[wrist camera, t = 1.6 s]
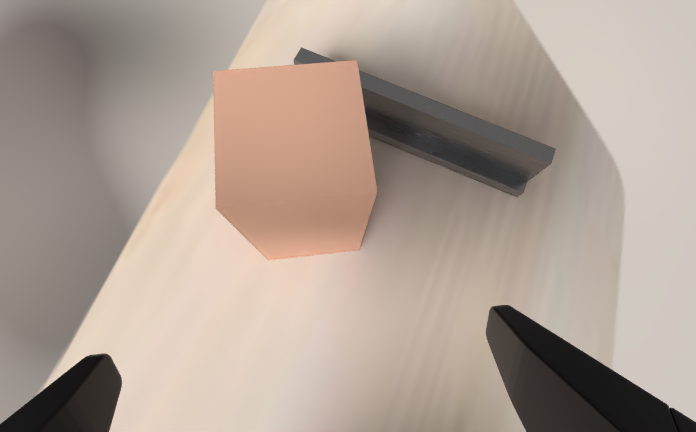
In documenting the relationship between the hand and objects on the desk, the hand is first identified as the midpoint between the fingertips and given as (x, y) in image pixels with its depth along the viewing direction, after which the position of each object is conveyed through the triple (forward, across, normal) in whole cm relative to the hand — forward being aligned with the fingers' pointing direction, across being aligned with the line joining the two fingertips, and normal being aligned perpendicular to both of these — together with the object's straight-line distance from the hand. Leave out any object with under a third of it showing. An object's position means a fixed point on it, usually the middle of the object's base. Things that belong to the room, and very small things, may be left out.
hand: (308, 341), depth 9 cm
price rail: (+17, -7, 0) cm, 19 cm away
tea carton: (+14, 0, +4) cm, 15 cm away
